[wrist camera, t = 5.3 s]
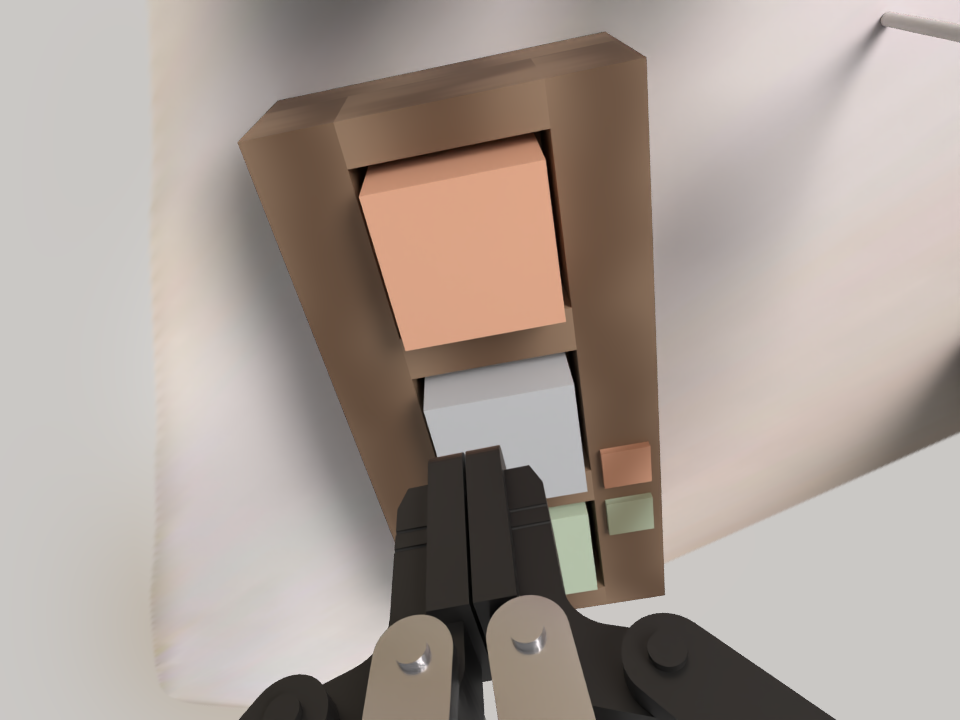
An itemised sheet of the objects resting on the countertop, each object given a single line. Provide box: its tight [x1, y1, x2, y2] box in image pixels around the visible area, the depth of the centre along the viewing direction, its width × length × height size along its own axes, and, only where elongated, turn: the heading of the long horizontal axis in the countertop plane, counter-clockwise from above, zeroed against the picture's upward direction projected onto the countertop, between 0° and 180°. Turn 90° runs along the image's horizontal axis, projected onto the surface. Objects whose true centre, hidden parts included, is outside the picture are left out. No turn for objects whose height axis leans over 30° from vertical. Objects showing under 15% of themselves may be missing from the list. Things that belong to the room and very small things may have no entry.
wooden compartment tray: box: [238, 32, 665, 609], centre depth 27 cm, size 12×25×6 cm, turn 11°
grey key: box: [424, 352, 588, 498], centre depth 25 cm, size 5×5×3 cm
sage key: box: [549, 502, 598, 594], centre depth 31 cm, size 5×5×3 cm
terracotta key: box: [359, 132, 566, 351], centre depth 21 cm, size 5×5×3 cm
